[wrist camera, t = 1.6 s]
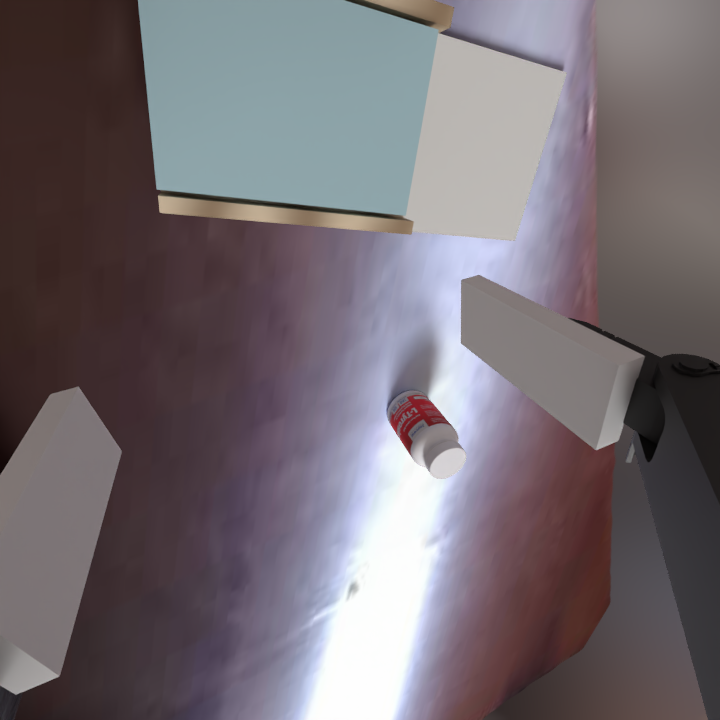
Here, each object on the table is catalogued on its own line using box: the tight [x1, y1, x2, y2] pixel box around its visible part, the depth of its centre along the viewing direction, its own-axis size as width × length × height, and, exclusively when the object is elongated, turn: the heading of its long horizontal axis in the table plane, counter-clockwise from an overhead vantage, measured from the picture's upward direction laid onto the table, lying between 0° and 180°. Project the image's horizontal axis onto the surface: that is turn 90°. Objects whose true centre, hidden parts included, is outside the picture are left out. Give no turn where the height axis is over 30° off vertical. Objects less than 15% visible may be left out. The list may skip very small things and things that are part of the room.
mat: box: [403, 33, 567, 241], centre depth 38 cm, size 16×16×1 cm
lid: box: [138, 0, 439, 216], centre depth 25 cm, size 17×11×2 cm, turn 82°
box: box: [158, 0, 454, 234], centre depth 28 cm, size 18×14×9 cm
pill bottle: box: [387, 390, 466, 479], centre depth 47 cm, size 6×6×11 cm
